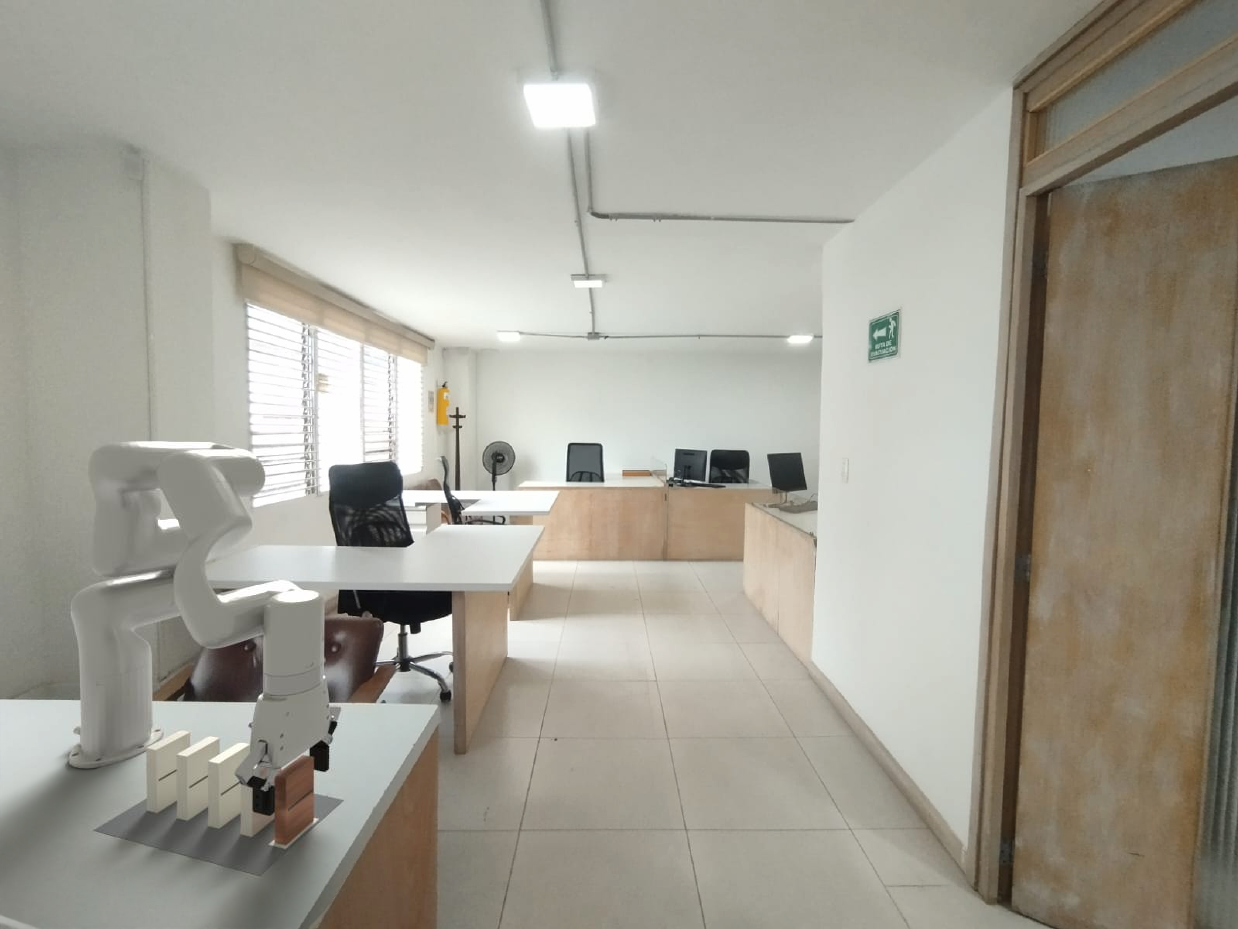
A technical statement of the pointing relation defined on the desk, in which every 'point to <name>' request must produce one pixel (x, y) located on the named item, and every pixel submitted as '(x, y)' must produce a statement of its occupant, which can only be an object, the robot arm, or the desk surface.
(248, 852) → the domino mat
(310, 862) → the desk surface
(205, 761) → the domino
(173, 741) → the domino
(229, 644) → the robot arm
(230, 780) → the domino
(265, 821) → the domino
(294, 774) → the domino
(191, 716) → the desk surface
